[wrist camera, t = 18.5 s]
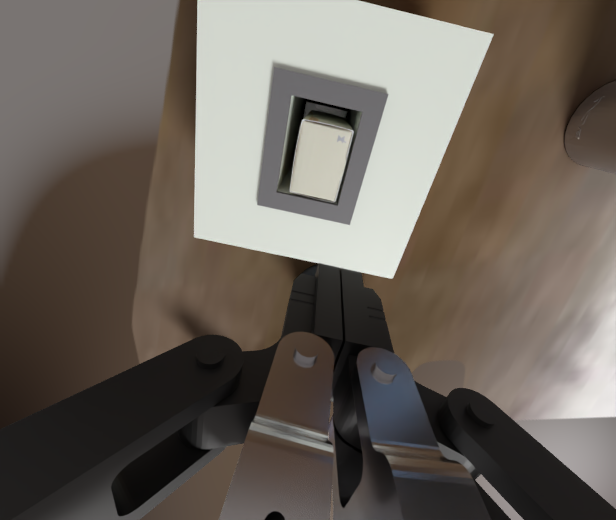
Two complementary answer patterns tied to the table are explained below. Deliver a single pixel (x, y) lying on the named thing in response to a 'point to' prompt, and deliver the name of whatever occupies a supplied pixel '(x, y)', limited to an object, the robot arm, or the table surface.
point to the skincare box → (321, 156)
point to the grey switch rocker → (323, 109)
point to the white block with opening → (331, 90)
